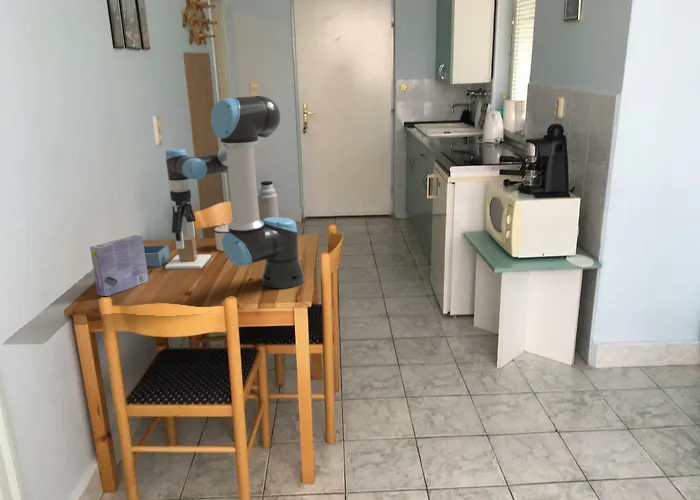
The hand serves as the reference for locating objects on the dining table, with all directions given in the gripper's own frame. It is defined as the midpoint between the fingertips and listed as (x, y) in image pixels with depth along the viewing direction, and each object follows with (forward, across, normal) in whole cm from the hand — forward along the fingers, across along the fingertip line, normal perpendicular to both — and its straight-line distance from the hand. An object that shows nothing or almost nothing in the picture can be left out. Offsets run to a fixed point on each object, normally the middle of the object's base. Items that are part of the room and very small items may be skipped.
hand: (186, 243), depth 224 cm
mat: (+8, 0, 0) cm, 9 cm away
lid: (+8, 0, 0) cm, 8 cm away
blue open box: (+9, 0, -15) cm, 17 cm away
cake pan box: (+9, +26, -14) cm, 31 cm away
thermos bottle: (+9, -22, +29) cm, 37 cm away
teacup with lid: (+9, -20, +11) cm, 24 cm away
